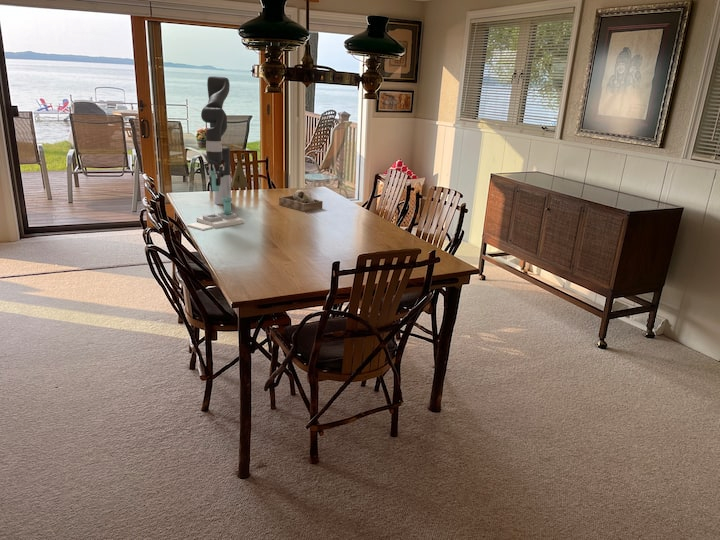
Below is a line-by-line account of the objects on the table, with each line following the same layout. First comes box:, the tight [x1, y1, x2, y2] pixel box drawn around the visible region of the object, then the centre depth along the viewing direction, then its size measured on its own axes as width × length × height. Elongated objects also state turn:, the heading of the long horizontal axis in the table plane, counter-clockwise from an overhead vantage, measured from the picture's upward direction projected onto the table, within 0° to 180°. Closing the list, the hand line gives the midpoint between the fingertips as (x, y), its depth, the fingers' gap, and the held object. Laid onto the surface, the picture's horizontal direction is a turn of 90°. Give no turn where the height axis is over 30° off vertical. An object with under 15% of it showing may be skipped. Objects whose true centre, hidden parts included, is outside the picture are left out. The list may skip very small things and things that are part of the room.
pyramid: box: [231, 161, 250, 189], centre depth 364 cm, size 13×13×18 cm
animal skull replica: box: [292, 189, 315, 204], centre depth 314 cm, size 8×17×10 cm, turn 49°
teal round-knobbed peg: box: [210, 170, 219, 192], centre depth 263 cm, size 5×5×10 cm
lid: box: [186, 221, 214, 231], centre depth 261 cm, size 12×6×1 cm, turn 56°
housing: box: [196, 211, 245, 229], centre depth 272 cm, size 17×17×4 cm
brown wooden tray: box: [278, 194, 323, 213], centre depth 316 cm, size 23×14×4 cm, turn 48°
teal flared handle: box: [222, 197, 233, 215], centre depth 273 cm, size 5×5×10 cm
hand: (215, 185), depth 264 cm, fingers closed on teal round-knobbed peg, 3 cm apart
